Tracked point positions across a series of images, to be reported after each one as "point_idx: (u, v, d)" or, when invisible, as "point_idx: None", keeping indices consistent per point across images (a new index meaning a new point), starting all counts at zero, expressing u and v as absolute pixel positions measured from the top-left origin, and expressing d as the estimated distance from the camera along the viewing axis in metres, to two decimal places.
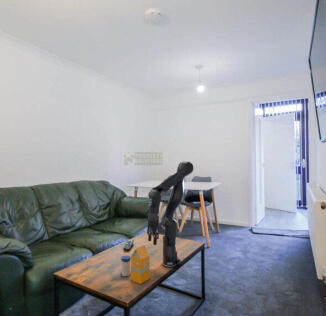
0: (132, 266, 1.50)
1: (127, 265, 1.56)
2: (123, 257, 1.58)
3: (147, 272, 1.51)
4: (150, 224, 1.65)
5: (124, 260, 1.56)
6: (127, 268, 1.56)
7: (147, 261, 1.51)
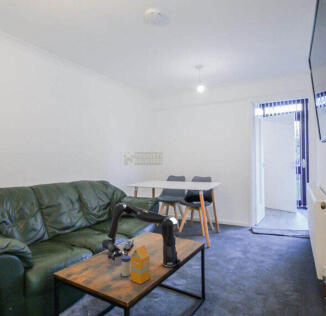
0: (132, 266, 1.50)
1: (127, 265, 1.56)
2: (123, 257, 1.58)
3: (147, 272, 1.51)
4: None
5: (124, 260, 1.56)
6: (127, 268, 1.56)
7: (147, 261, 1.51)
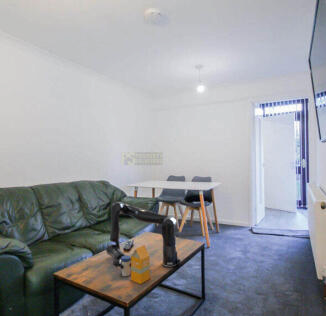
0: (132, 266, 1.50)
1: (127, 265, 1.56)
2: (123, 257, 1.58)
3: (147, 272, 1.51)
4: None
5: (124, 260, 1.56)
6: (127, 268, 1.56)
7: (147, 261, 1.51)
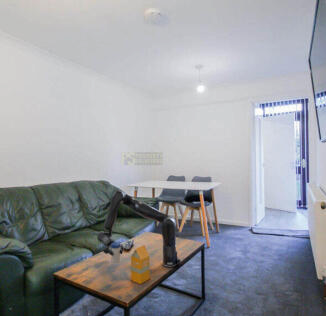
0: (132, 266, 1.50)
1: (117, 252, 1.50)
2: (113, 243, 1.52)
3: (147, 272, 1.51)
4: None
5: (114, 246, 1.50)
6: (117, 255, 1.50)
7: (147, 261, 1.51)
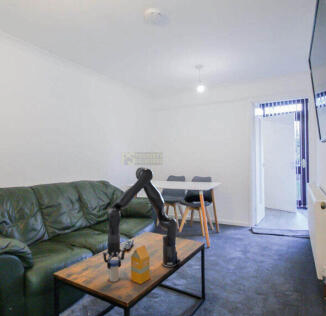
0: (132, 266, 1.50)
1: (115, 270, 1.49)
2: (111, 261, 1.51)
3: (147, 272, 1.51)
4: None
5: (112, 265, 1.49)
6: (115, 273, 1.49)
7: (147, 261, 1.51)
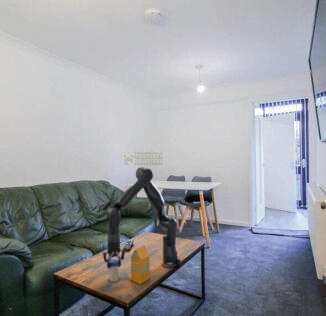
0: (132, 266, 1.50)
1: (115, 270, 1.49)
2: (114, 262, 1.50)
3: (147, 272, 1.51)
4: None
5: (117, 263, 1.50)
6: (115, 273, 1.49)
7: (147, 261, 1.51)
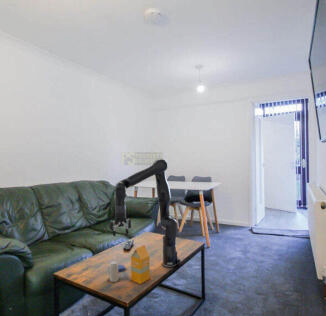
0: (132, 266, 1.50)
1: (115, 270, 1.49)
2: (120, 267, 1.64)
3: (147, 272, 1.51)
4: None
5: (124, 269, 1.64)
6: (115, 273, 1.49)
7: (147, 261, 1.51)
